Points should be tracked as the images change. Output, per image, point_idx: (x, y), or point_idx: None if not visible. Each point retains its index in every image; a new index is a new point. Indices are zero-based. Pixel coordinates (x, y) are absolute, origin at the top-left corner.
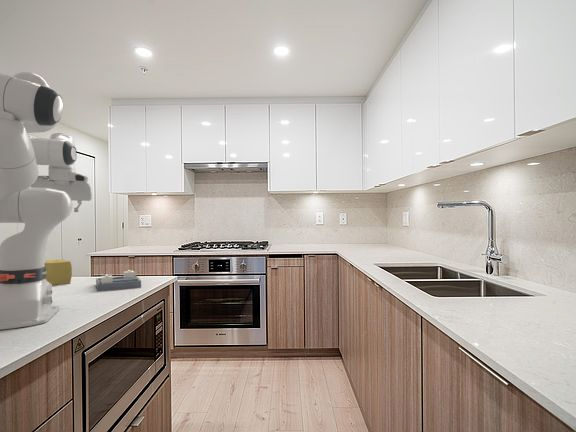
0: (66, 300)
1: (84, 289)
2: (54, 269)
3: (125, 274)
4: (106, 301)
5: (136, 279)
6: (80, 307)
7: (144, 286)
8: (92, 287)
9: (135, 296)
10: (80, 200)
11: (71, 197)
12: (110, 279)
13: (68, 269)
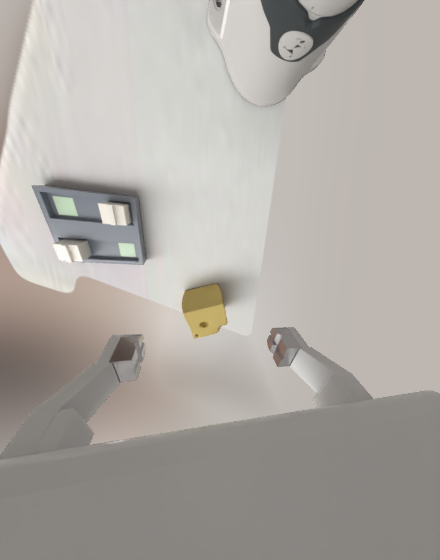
0: (191, 137)
1: (163, 229)
2: (207, 299)
3: (77, 244)
4: (106, 42)
5: (52, 218)
6: (163, 7)
7: None
8: (150, 240)
9: (30, 54)
10: (3, 459)
11: (109, 498)
12: (105, 203)
13: (186, 303)
